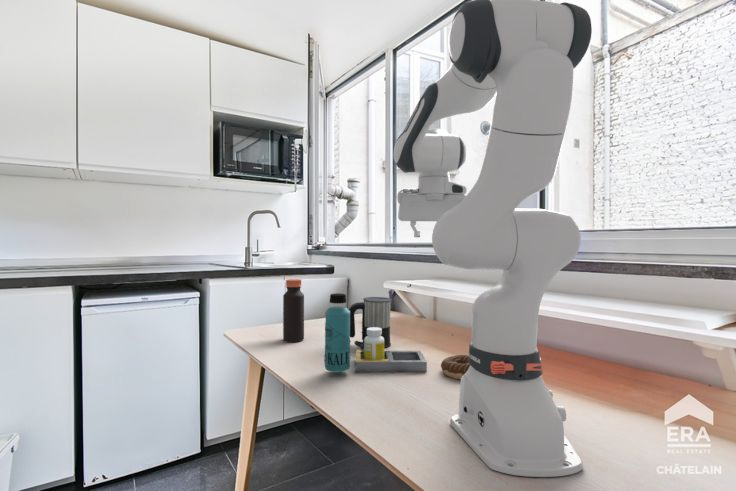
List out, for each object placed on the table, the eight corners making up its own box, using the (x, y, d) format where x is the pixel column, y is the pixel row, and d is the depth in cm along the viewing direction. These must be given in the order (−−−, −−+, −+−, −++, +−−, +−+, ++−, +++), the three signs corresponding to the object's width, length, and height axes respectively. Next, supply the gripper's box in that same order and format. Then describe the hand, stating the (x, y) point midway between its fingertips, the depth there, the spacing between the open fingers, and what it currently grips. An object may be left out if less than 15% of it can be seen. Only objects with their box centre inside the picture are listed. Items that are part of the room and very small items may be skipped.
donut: (491, 382, 90) (491, 365, 89) (447, 383, 89) (447, 366, 89) (476, 367, 100) (476, 352, 100) (436, 367, 100) (436, 352, 100)
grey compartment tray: (426, 371, 96) (426, 360, 96) (355, 372, 95) (355, 360, 95) (420, 359, 106) (420, 349, 106) (356, 359, 105) (356, 349, 105)
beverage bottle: (335, 367, 99) (336, 291, 98) (356, 372, 95) (356, 293, 95) (318, 374, 93) (318, 293, 93) (339, 380, 90) (339, 296, 89)
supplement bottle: (384, 362, 103) (385, 326, 103) (383, 369, 98) (383, 331, 97) (365, 361, 104) (365, 326, 103) (362, 368, 98) (363, 330, 98)
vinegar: (296, 336, 130) (297, 278, 130) (308, 340, 125) (308, 280, 125) (279, 339, 126) (279, 279, 126) (290, 344, 121) (290, 281, 121)
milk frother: (384, 340, 126) (385, 295, 126) (405, 353, 112) (405, 303, 111) (343, 343, 122) (344, 297, 121) (359, 358, 107) (359, 305, 107)
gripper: (398, 186, 104) (398, 237, 105) (472, 187, 105) (471, 237, 105) (396, 189, 111) (396, 237, 111) (466, 190, 111) (465, 237, 111)
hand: (433, 237), depth 108 cm, fingers open, 8 cm apart
